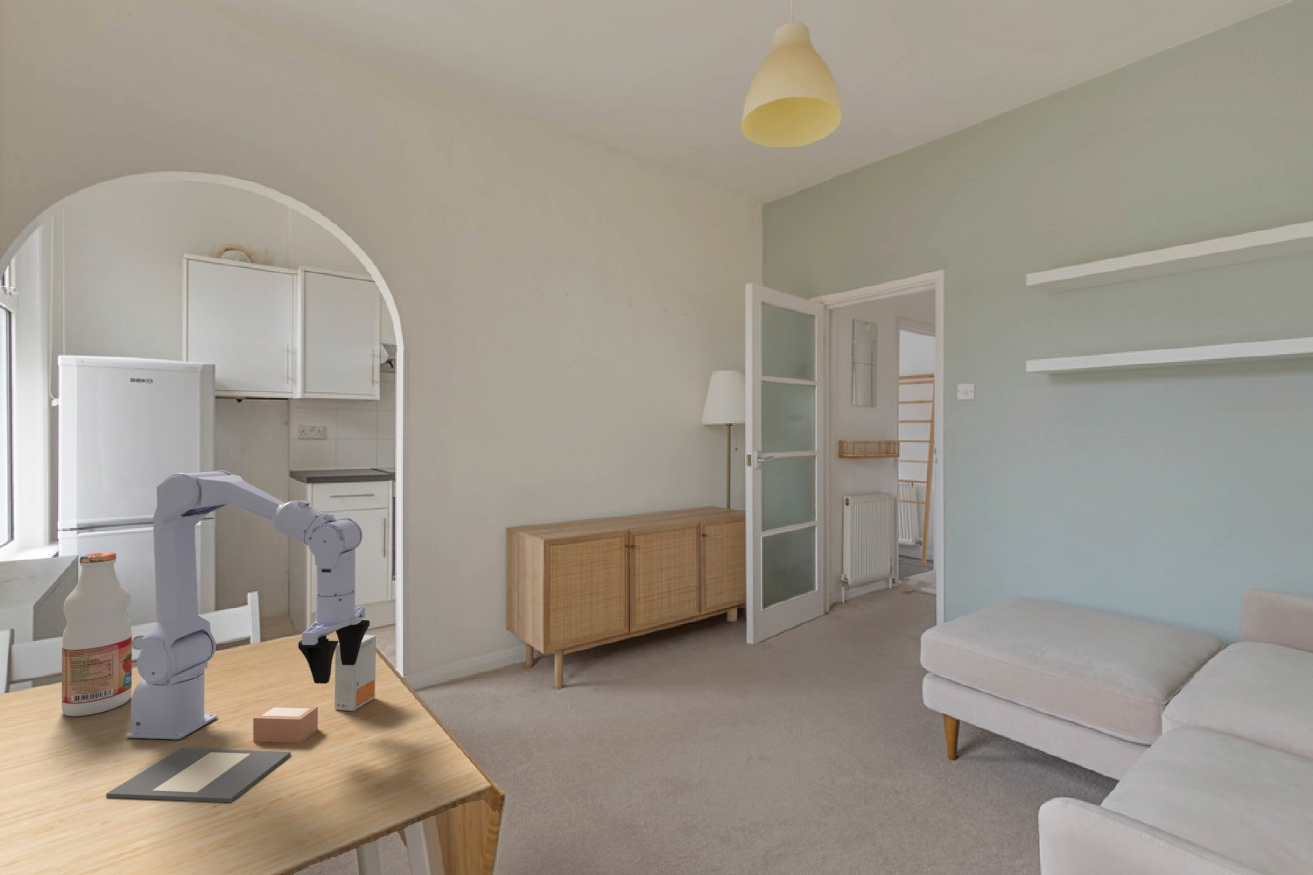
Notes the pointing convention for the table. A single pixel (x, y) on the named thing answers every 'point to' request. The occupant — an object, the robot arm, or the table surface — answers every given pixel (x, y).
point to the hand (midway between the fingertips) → (335, 673)
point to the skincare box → (356, 677)
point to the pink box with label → (285, 724)
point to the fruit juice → (96, 640)
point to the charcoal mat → (201, 775)
